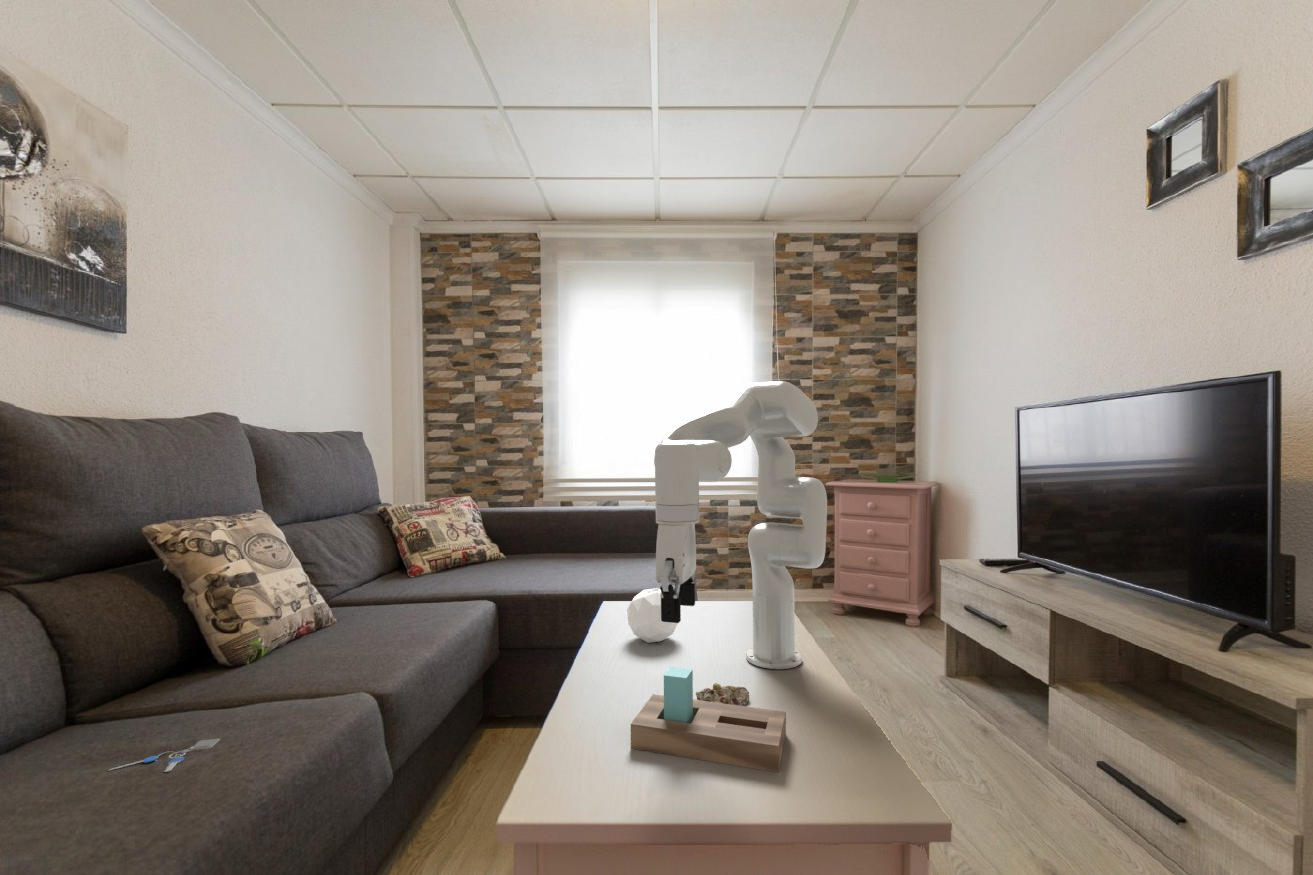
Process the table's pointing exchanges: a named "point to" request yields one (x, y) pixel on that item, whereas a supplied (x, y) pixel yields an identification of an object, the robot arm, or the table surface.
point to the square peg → (678, 695)
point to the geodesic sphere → (648, 617)
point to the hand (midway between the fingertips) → (678, 613)
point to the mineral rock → (724, 695)
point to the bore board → (714, 734)
